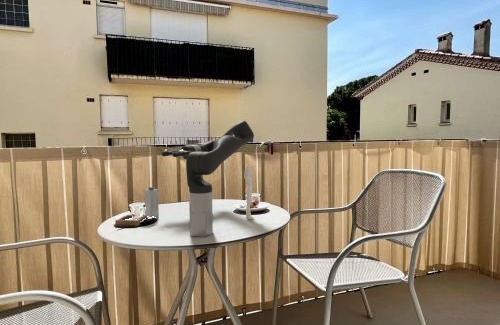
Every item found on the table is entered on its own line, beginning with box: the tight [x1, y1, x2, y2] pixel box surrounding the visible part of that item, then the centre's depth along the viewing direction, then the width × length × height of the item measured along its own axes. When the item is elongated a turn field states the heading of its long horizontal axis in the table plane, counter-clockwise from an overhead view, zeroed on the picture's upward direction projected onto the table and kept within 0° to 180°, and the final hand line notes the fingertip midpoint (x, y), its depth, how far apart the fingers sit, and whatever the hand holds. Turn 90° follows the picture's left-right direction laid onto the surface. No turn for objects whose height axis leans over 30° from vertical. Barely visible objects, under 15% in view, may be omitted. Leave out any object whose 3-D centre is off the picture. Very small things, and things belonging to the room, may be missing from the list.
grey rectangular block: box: [143, 186, 160, 219], centre depth 151 cm, size 4×4×15 cm
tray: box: [114, 214, 147, 227], centre depth 142 cm, size 10×10×2 cm
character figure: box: [243, 166, 255, 220], centre depth 148 cm, size 24×5×25 cm, turn 1°
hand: (167, 154), depth 158 cm, fingers open, 8 cm apart
